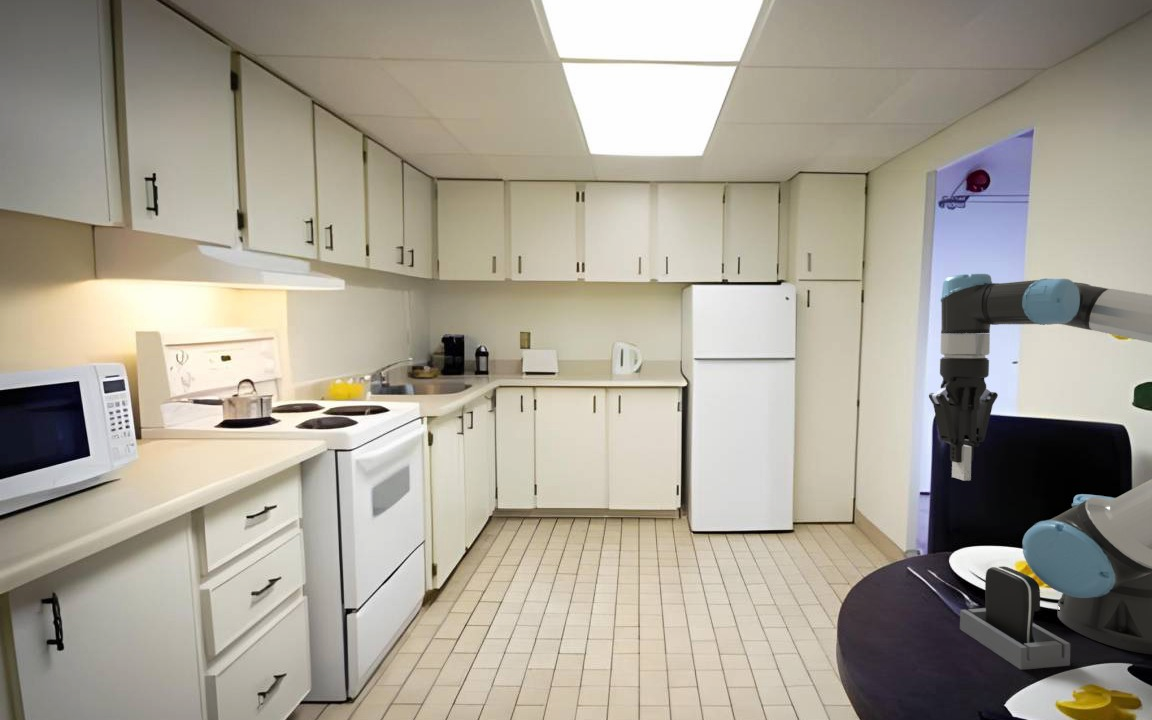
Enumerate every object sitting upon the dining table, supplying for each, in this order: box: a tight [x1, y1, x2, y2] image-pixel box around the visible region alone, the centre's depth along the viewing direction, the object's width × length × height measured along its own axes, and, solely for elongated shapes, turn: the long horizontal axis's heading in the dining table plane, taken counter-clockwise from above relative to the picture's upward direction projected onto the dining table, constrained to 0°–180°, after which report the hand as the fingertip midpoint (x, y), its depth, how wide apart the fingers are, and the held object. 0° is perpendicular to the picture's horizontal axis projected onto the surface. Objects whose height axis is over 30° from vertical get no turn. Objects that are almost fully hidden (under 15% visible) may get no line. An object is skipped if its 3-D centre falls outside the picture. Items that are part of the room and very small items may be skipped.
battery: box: [984, 566, 1041, 645], centre depth 88 cm, size 7×4×11 cm, turn 12°
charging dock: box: [959, 607, 1071, 671], centre depth 88 cm, size 8×12×4 cm
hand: (961, 478), depth 102 cm, fingers closed
